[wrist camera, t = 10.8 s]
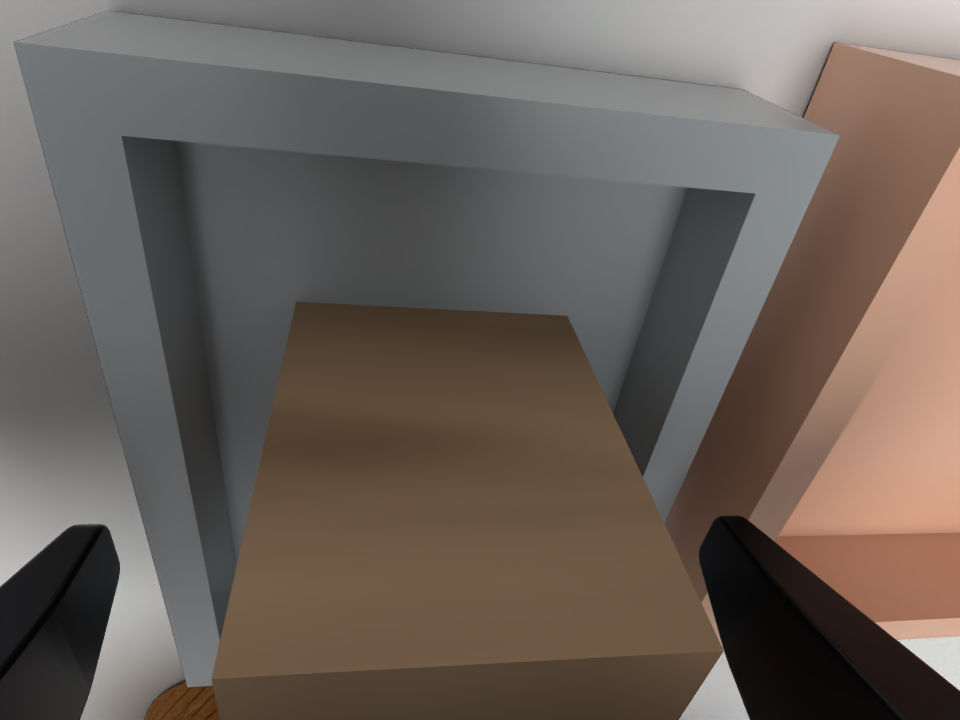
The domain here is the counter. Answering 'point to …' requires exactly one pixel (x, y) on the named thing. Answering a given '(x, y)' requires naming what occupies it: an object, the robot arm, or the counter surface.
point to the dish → (856, 361)
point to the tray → (389, 238)
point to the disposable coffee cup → (185, 704)
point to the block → (452, 535)
